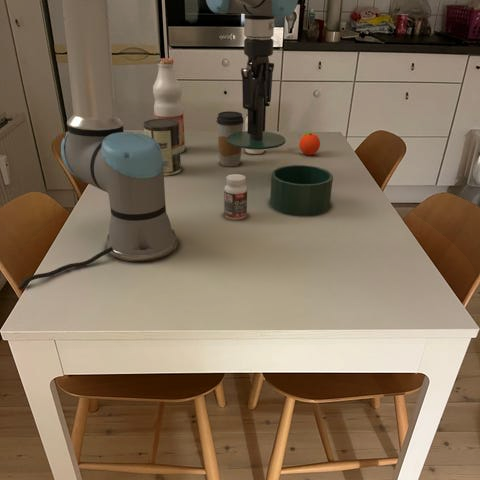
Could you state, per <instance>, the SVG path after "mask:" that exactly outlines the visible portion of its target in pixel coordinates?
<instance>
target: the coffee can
mask: <svg viewBox="0 0 480 480" xmlns="http://www.w3.org/2000/svg"><path fill="white" fill-rule="evenodd" d="M142 124H143V133H144V135H147V136H149V137H151V138H153V139H154V140H156V141H157V142H158V144H159V146H160V148H161V153H162V158H163V173H164V177H165V176H173V175H176V174H179V173H180V172H181V171H182V165H181V153H180V145H179V127H178V126H179V122H178V121H176V120H173V119H155V118H153V119H147V120H145V121H144V122H143V123H142Z"/></svg>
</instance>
